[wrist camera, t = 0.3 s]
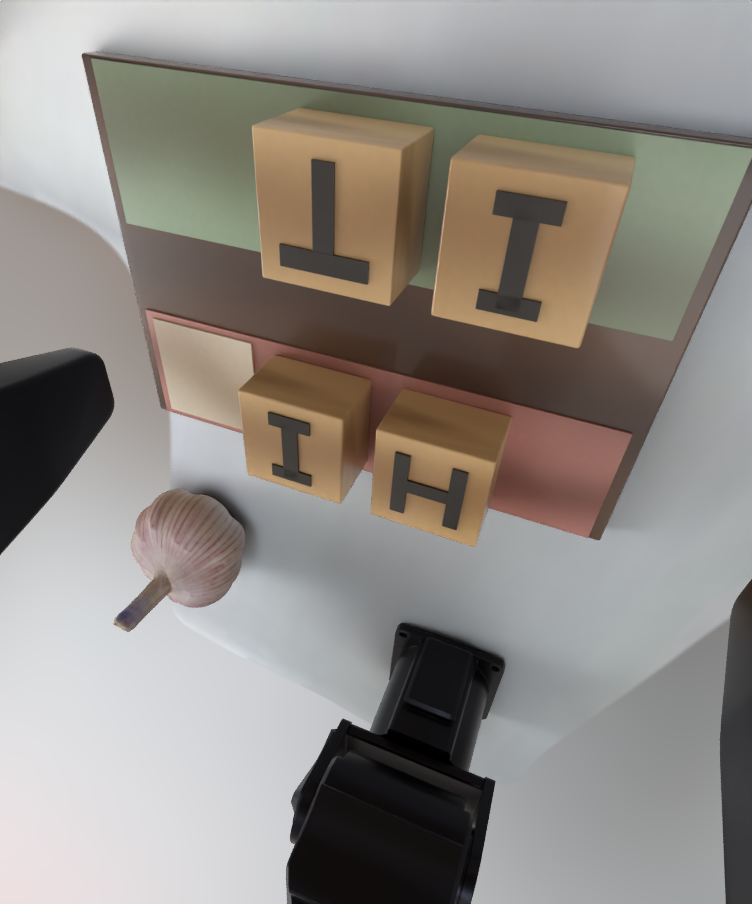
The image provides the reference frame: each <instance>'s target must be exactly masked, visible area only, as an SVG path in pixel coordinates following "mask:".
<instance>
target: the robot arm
mask: <svg viewBox="0 0 752 904" xmlns="http://www.w3.org/2000/svg"><path fill="white" fill-rule="evenodd" d="M113 409H114V398H113V394H112V390H111V386H110V383H109V379H108V375H107V372H106V368H105V365H104V362H103V360H102V359H101V358H100V356H98V355H97V354H95V353H92V352H88V351H85V350H82V349H78V348H67V349H62V350H57V351H53V352H48V353H44V354H40V355H35V356H30V357H26V358H21V359H17V360H12V361H8V362H3V363H0V555H1V553H2V552H3V551H4V550H5V549H6V548H7V547H8V546H9V545H10V543H11V542H12V541H13V540H14V539H15V538H16V536H17V535H18V534H19V533H20V532H21V531H22V530H23V529H24V528H25V526H26V525H27V524H28V523H29V522H30V521H31V520H32V519H33V518H34V516H35V515H36V514H37V513H38V512H39V511H40V510H41V508H42V507H43V506H44V505H45V504H46V503H47V502H48V500H49V499H50V498H51V497H52V496H53V495H54V493H55V492H56V491H57V489H58V488H59V487H60V485H61V484H62V483H63V482H64V480H65V479H66V477H67V476H68V475H69V473H70V472H71V470H72V469H73V468H74V466H75V465H76V464H77V462H78V461H79V459H80V458H81V457H82V455H83V454H84V453H85V451H86V450H87V448H88V447H89V446H90V444H91V443H92V442H93V440H94V439H95V437H96V436H97V435H98V433H99V432H100V430H101V429H102V428H103V426H104V425H105V424H106V422H107V421H108V420H109V418H110V417H111V415H112V412H113ZM504 669H505V663H504V661H502V660H501V659H499V658H497V657H494V656H491V655H488V654H486V653H483V652H480V651H477V650H475V649H472V648H469V647H466V646H464V645H461V644H458V643H455V642H453V641H450V640H447V639H444V638H442V637H439V636H436V635H433V634H431V633H428V632H425V631H423V630H420V629H417V628H414V627H412V626H409V625H406V624H400V625H399V626H398V628H397V630H396V633H395V641H394V648H393V656H392V663H391V670H390V678H389V683H388V686H387V688H386V691H385V693H384V696H383V699H382V701H381V704H380V706H379V709H378V711H377V714H376V716H375V719H374V721H373V724H372V726H371V729H370V731H368V730H365V729H363V728H360V727H358V726H355V725H353V724H352V722H350V721H348V720H345V719H342V720H341V722H340V724H339V726H338V728H337V729H332V730H331V732H330V734H329V736H328V738H327V741H326V743H325V745H324V747H323V749H322V751H321V753H320V755H319V757H318V759H317V760H316V762H315V764H314V765H313V766H312V768H311V769H310V771H309V772H308V773H307V775H306V776H305V778H304V779H303V781H302V782H301V783H300V785H299V786H298V788H297V789H296V790H295V792H294V795H293V797H292V800H291V803H292V807H293V810H294V818H293V825H292V829H291V834H290V841H291V843H293V844H295V846H294V848H293V851H292V853H291V856H290V858H289V861H288V863H287V867H286V885H287V904H471V900H472V897H473V893H474V888H475V885H476V881H477V876H478V872H479V867H480V863H481V858H482V852H483V847H484V841H485V836H486V830H487V824H488V819H489V814H490V808H491V802H492V797H493V792H494V786H495V781H494V780H492V779H490V778H487V777H485V778H482V777H480V776H477V775H475V774H472V773H470V772H468V771H469V767H470V763H471V759H472V755H473V752H474V748H475V744H476V740H477V736H478V732H479V728H480V724H481V720H482V719H486V718H487V715H488V713H489V710H490V707H491V705H492V702H493V699H494V697H495V694H496V691H497V689H498V686H499V683H500V681H501V678H502V675H503V673H504ZM720 767H721V792H722V817H723V843H724V866H725V867H724V868H725V892H726V904H752V579H751V581H750V582H749V583H748V584H747V586H746V587H745V588H744V590H743V591H742V592H741V594H740V595H739V596H738V598H737V599H736V601H735V603H734V606H733V608H732V612H731V618H730V628H729V639H728V650H727V661H726V673H725V684H724V695H723V706H722V717H721V732H720Z"/></svg>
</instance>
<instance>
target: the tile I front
mask: <svg viewBox="0 0 752 904" xmlns="http://www.w3.org/2000/svg"><path fill="white" fill-rule="evenodd" d="M635 162H636V158H635V157H632V156H625V155H619V154H612V153H605V152H598V151H591V150H584V149H578V148H571V147H564V146H557V145H550V144H543V143H537V142H530V141H523V140H516V139H509V138H502V137H496V136H489V135H482V134H479V135H477V136H476V137H475V138H473V139H472V140H471V141H470V142H469V143H467V144H466V145H465V146H464V147H463V148H462V149H460V150H459V151H458V152H457V153H456V154H454V155H453V156H452V157H451V159H450V166H449V174H448V182H447V190H446V198H445V206H444V214H443V222H442V230H441V237H440V245H439V253H438V261H437V269H436V277H435V285H434V293H433V301H432V309H431V314H432V315H433V316H437V317H441V318H446V319H450V320H455V321H459V322H463V323H468V324H472V325H477V326H481V327H485V328H490V329H494V330H499V331H503V332H507V333H512V334H516V335H521V336H525V337H529V338H534V339H538V340H543V341H547V342H551V343H556V344H560V345H565V346H569V347H573V348H579V347H580V346H581V343H582V340H583V337H584V334H585V330H586V327H587V324H588V321H589V318H590V315H591V312H592V308H593V305H594V302H595V299H596V296H597V293H598V290H599V286H600V283H601V280H602V277H603V274H604V271H605V268H606V264H607V261H608V258H609V255H610V252H611V249H612V246H613V242H614V239H615V236H616V233H617V230H618V227H619V223H620V220H621V217H622V214H623V211H624V208H625V205H626V201H627V198H628V195H629V192H630V189H631V184H632V179H633V173H634V168H635Z"/></svg>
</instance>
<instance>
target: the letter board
mask: <svg viewBox="0 0 752 904" xmlns="http://www.w3.org/2000/svg"><path fill="white" fill-rule="evenodd" d="M82 58H83V63H84V67H85V72H86V76H87V81H88V85H89V90H90V94H91V99H92V103H93V107H94V112H95V116H96V121H97V125H98V130H99V134H100V139H101V143H102V148H103V152H104V156H105V161H106V165H107V170H108V174H109V179H110V183H111V188H112V192H113V197H114V201H115V205H116V210H117V214H118V219H119V223H120V228H121V232H122V237H123V241H124V246H125V250H126V254H127V259H128V263H129V268H130V272H131V277H132V281H133V286H134V290H135V295H136V299H137V303H138V308H139V312H140V317H141V321H142V326H143V330H144V334H145V339H146V344H147V348H148V352H149V357H150V361H151V365H152V370H153V375H154V379H155V383H156V388H157V393H158V397H159V401H160V406H161V408H163V409H166V410H168V411H171V412H174V413H177V414H181V415H184V416H187V417H191V418H194V419H197V420H200V421H204V422H207V423H210V424H214V425H217V426H220V427H224V428H227V429H230V430H233V431H237V432H240V433H243V430H242V421H241V413H240V404H239V396H238V390H239V389H240V388H241V387H242V386H243V385H244V384H245V383H246V382H247V381H248V380H249V379H250V378H251V377H252V376H253V375H254V374H255V373H256V372H257V371H258V370H259V369H260V368H261V367H262V366H263V365H265V364H266V363H267V362H268V361H269V360H270V359H271V358H272V357H273V356H274V355H277V356H281V357H285V358H289V359H293V360H297V361H300V362H304V363H308V364H312V365H316V366H319V367H323V368H327V369H331V370H335V371H339V372H342V373H346V374H350V375H354V376H358V377H361V378H365V379H369V380H371V381H372V383H371V400H370V417H369V434H368V451H367V462H366V464H365V466H364V467H363V469H362V470H365V471H369V472H372V473H373V469H374V455H375V440H376V429H377V428H378V426H379V425H380V423H381V422H382V420H383V418H384V417H385V415H386V414H387V412H388V411H389V409H390V408H391V406H392V404H393V403H394V401H395V400H396V398H397V397H398V395H399V394H400V392H401V390H402V389H407V390H411V391H415V392H419V393H423V394H426V395H430V396H434V397H438V398H442V399H446V400H449V401H453V402H457V403H461V404H465V405H468V406H472V407H476V408H480V409H484V410H487V411H491V412H495V413H499V414H503V415H507V416H510V417H512V422H511V425H510V429H509V433H508V437H507V441H506V445H505V449H504V453H503V457H502V461H501V465H500V468H499V472H498V476H497V480H496V484H495V488H494V492H493V496H492V500H491V503H490V505H489V508H491V509H494V510H497V511H501V512H504V513H507V514H511V515H514V516H517V517H521V518H524V519H527V520H530V521H534V522H537V523H540V524H544V525H547V526H550V527H554V528H557V529H560V530H563V531H567V532H570V533H573V534H577V535H580V536H583V537H587V538H588V537H589V538H592V539H595V540H600V539H601V537H602V534H603V532H604V530H605V528H606V525H607V523H608V521H609V519H610V517H611V514H612V512H613V510H614V508H615V506H616V503H617V501H618V499H619V497H620V495H621V492H622V490H623V488H624V486H625V483H626V481H627V479H628V477H629V475H630V472H631V470H632V468H633V466H634V464H635V461H636V459H637V457H638V455H639V452H640V450H641V448H642V446H643V444H644V441H645V439H646V437H647V435H648V433H649V430H650V428H651V426H652V424H653V422H654V419H655V417H656V415H657V413H658V410H659V408H660V406H661V404H662V402H663V399H664V397H665V395H666V393H667V391H668V388H669V386H670V384H671V382H672V379H673V377H674V375H675V373H676V371H677V368H678V366H679V364H680V362H681V360H682V357H683V355H684V353H685V351H686V349H687V346H688V344H689V342H690V340H691V337H692V335H693V333H694V331H695V329H696V326H697V324H698V322H699V320H700V318H701V315H702V313H703V311H704V309H705V306H706V304H707V302H708V300H709V298H710V295H711V293H712V291H713V289H714V287H715V284H716V282H717V280H718V278H719V276H720V273H721V271H722V269H723V267H724V264H725V262H726V260H727V258H728V256H729V253H730V251H731V249H732V247H733V245H734V242H735V240H736V238H737V236H738V233H739V231H740V229H741V227H742V225H743V222H744V220H745V218H746V216H747V214H748V211H749V209H750V207H751V205H752V138H746V137H739V136H731V135H724V134H716V133H709V132H701V131H693V130H686V129H678V128H671V127H663V126H656V125H648V124H641V123H633V122H626V121H618V120H611V119H603V118H596V117H588V116H580V115H573V114H565V113H558V112H550V111H543V110H535V109H528V108H520V107H513V106H505V105H498V104H490V103H482V102H475V101H467V100H460V99H452V98H445V97H437V96H430V95H422V94H415V93H407V92H400V91H392V90H385V89H377V88H369V87H362V86H354V85H347V84H339V83H332V82H324V81H317V80H309V79H302V78H294V77H287V76H279V75H272V74H264V73H256V72H249V71H241V70H234V69H226V68H219V67H211V66H204V65H196V64H189V63H181V62H174V61H166V60H158V59H151V58H143V57H136V56H128V55H121V54H113V53H106V52H98V51H95V52H88V53H83V54H82ZM298 108H306V109H313V110H319V111H326V112H333V113H340V114H347V115H354V116H360V117H367V118H374V119H381V120H388V121H395V122H401V123H408V124H415V125H422V126H429V127H433V128H434V137H433V146H432V156H431V165H430V175H429V184H428V193H427V203H426V212H425V222H424V231H423V241H422V250H421V259H420V269H419V272H418V273H417V274H416V275H415V277H414V278H413V279H412V280H411V281H410V283H409V284H408V285H407V286H406V287H405V288H404V290H403V291H402V292H401V293H400V294H399V296H398V297H397V298H396V299H395V300H394V302H393V303H392V304H391V305H390V306H387V305H382V304H378V303H374V302H369V301H365V300H360V299H356V298H352V297H347V296H343V295H339V294H334V293H330V292H325V291H321V290H317V289H312V288H308V287H303V286H299V285H295V284H290V283H286V282H281V281H277V280H273V279H268V278H264V277H263V274H262V260H261V246H260V233H259V219H258V205H257V192H256V178H255V165H254V151H253V137H252V125H255V124H258V123H260V122H263V121H266V120H268V119H271V118H274V117H277V116H279V115H282V114H285V113H287V112H290V111H293V110H296V109H298ZM479 134H482V135H489V136H496V137H502V138H509V139H516V140H523V141H530V142H537V143H543V144H550V145H557V146H564V147H571V148H578V149H584V150H591V151H598V152H605V153H612V154H619V155H625V156H632V157H635V158H636V162H635V168H634V173H633V179H632V184H631V189H630V192H629V195H628V198H627V201H626V205H625V208H624V211H623V214H622V217H621V220H620V223H619V227H618V230H617V233H616V236H615V239H614V242H613V246H612V249H611V252H610V255H609V258H608V261H607V264H606V268H605V271H604V274H603V277H602V280H601V283H600V286H599V290H598V293H597V296H596V299H595V302H594V305H593V308H592V312H591V315H590V318H589V321H588V324H587V327H586V330H585V334H584V337H583V340H582V343H581V346H580V347H579V348H573V347H569V346H565V345H560V344H556V343H551V342H547V341H543V340H538V339H534V338H529V337H525V336H521V335H516V334H512V333H507V332H503V331H499V330H494V329H490V328H485V327H481V326H477V325H472V324H468V323H463V322H459V321H455V320H450V319H446V318H441V317H437V316H433V315H432V314H431V309H432V301H433V293H434V285H435V277H436V269H437V261H438V253H439V245H440V237H441V230H442V222H443V214H444V206H445V198H446V190H447V182H448V174H449V166H450V159H451V157H452V156H453V155H454V154H456V153H457V152H458V151H459V150H460V149H462V148H463V147H464V146H465V145H466V144H467V143H469V142H470V141H471V140H472V139H473V138H475V137H476V136H477V135H479Z"/></svg>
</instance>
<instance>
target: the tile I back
mask: <svg viewBox="0 0 752 904" xmlns="http://www.w3.org/2000/svg"><path fill="white" fill-rule="evenodd" d="M371 383H372V381H371V380H369V379H365V378H361V377H358V376H354V375H350V374H346V373H342V372H339V371H335V370H331V369H327V368H323V367H319V366H316V365H312V364H308V363H304V362H300V361H297V360H293V359H289V358H285V357H281V356H277V355H274V356H273V357H272V358H271V359H270V360H269V361H268V362H267V363H266V364H265V365H263V366H262V367H261V368H260V369H259V370H258V371H257V372H256V373H255V374H254V375H253V376H252V377H251V378H250V379H249V380H248V381H247V382H246V383H245V384H244V385H243V386H242V387H241V388H240V389H239V390H238V396H239V404H240V413H241V421H242V430H243V438H244V447H245V455H246V464H247V472H248V474H249V475H252V476H255V477H258V478H261V479H264V480H267V481H270V482H273V483H277V484H280V485H283V486H286V487H289V488H292V489H295V490H298V491H301V492H305V493H308V494H311V495H314V496H317V497H320V498H323V499H326V500H329V501H333V502H336V503H339V504H341V503H342V501H343V500H344V498H345V496H346V495H347V493H348V491H349V490H350V488H351V487H352V485H353V483H354V482H355V480H356V479H357V477H358V475H359V474H360V472H361V471H362V469H363V467H364V466H365V464H366V462H367V451H368V434H369V417H370V400H371Z"/></svg>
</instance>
